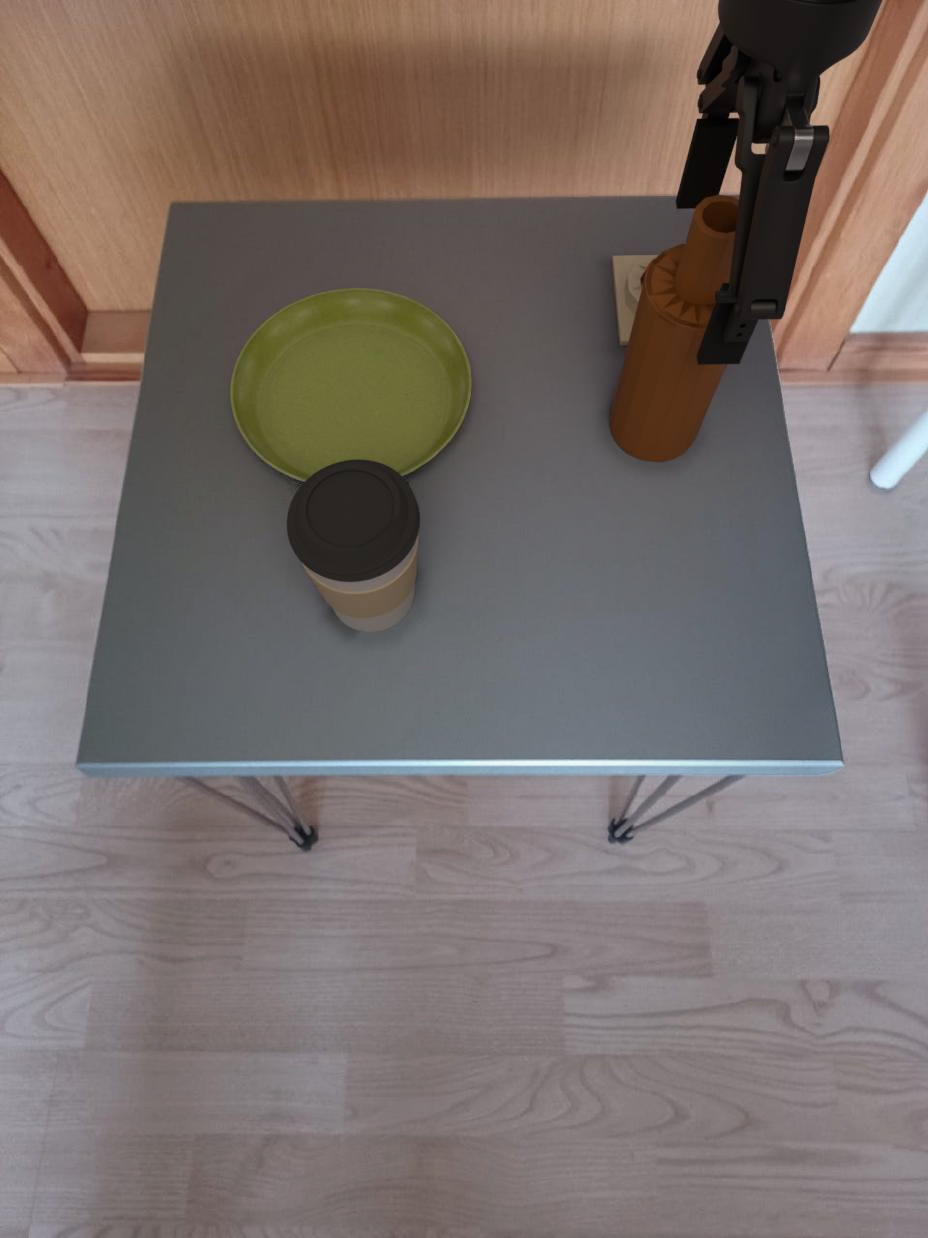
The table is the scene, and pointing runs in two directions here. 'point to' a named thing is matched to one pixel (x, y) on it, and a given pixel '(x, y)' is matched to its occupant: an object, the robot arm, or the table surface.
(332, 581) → the coffee cup
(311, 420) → the green plate
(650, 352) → the brown bottle
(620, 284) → the cream button plate
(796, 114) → the robot arm
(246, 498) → the table surface
